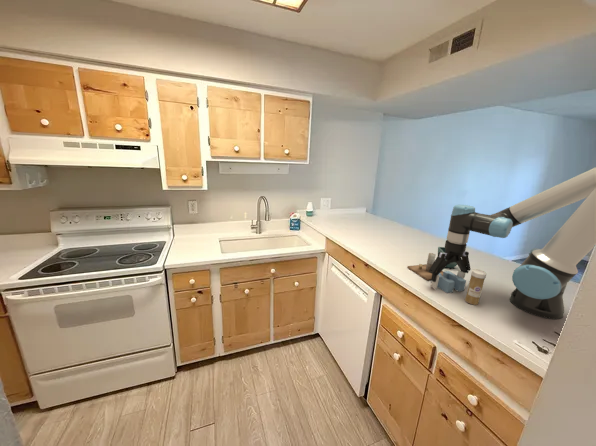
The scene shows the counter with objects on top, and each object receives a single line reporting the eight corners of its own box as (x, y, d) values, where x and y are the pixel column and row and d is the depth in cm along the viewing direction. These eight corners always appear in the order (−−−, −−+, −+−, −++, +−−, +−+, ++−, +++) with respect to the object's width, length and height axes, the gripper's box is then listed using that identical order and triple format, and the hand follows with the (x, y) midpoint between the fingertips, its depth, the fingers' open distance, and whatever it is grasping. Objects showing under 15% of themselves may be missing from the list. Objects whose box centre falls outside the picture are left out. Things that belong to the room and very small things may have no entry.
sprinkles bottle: (469, 305, 94) (477, 273, 91) (462, 298, 99) (469, 268, 95) (481, 305, 94) (489, 274, 91) (473, 298, 99) (480, 268, 95)
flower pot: (459, 270, 124) (462, 254, 121) (440, 268, 125) (443, 252, 123) (452, 263, 132) (455, 248, 130) (434, 261, 134) (437, 246, 131)
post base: (451, 278, 115) (456, 258, 113) (427, 281, 112) (431, 261, 109) (429, 265, 128) (433, 248, 126) (407, 267, 125) (410, 249, 122)
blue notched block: (463, 290, 104) (466, 280, 103) (446, 293, 102) (449, 282, 101) (446, 280, 113) (448, 270, 112) (430, 282, 111) (432, 272, 109)
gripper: (471, 237, 108) (461, 279, 114) (425, 240, 102) (416, 284, 108) (487, 242, 102) (476, 287, 107) (439, 246, 95) (429, 293, 101)
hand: (446, 286), depth 108 cm, fingers open, 13 cm apart
